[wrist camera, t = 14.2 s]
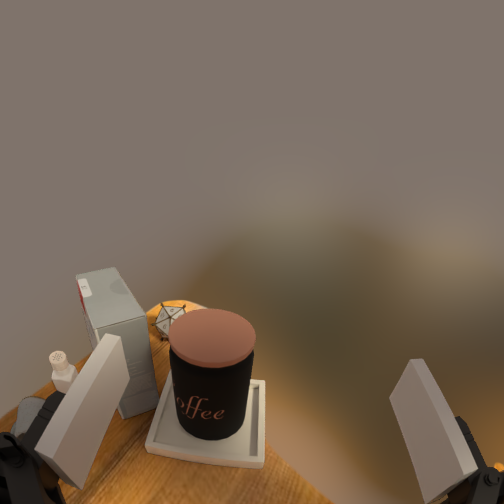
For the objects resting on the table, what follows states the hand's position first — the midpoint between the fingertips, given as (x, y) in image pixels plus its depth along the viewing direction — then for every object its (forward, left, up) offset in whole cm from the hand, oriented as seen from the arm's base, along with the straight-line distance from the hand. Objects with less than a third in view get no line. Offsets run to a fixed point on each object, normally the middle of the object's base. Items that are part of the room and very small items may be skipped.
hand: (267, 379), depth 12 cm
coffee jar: (+5, -19, -31) cm, 37 cm away
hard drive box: (+21, -24, -32) cm, 45 cm away
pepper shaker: (+30, -18, -32) cm, 47 cm away
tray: (+5, -19, -32) cm, 38 cm away
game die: (+16, -40, -32) cm, 54 cm away
